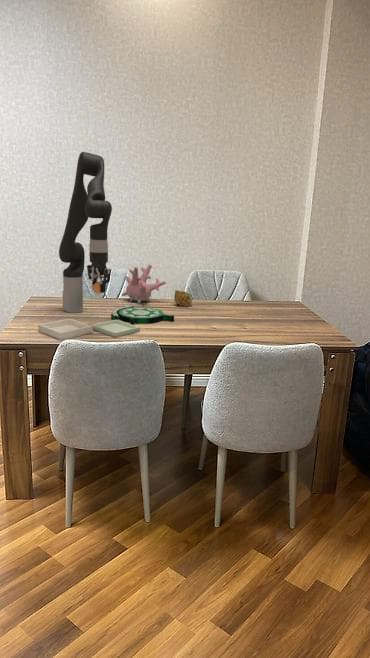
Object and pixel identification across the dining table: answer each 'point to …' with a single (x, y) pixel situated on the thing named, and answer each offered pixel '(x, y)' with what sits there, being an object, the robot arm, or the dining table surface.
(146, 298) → the toy
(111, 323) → the tray
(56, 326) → the cream square dish
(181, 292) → the rock
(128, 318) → the emblem
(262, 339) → the dining table surface
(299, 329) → the dining table surface
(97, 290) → the ball
